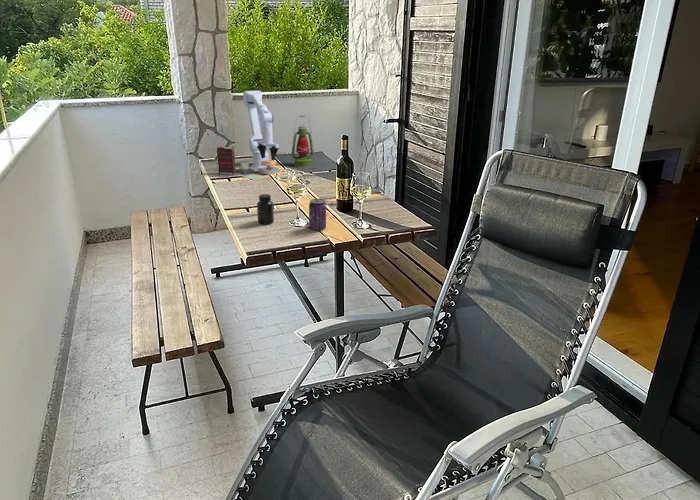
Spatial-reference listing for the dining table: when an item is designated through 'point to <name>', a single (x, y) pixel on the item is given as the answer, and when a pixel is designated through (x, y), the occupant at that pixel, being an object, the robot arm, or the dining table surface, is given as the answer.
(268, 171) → the button housing
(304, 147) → the lantern
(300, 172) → the dining table surface
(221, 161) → the supplement box
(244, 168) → the cylinder
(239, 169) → the dock
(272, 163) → the tan rounded dome
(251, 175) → the mat
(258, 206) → the supplement bottle
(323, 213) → the beverage can
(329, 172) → the dining table surface
